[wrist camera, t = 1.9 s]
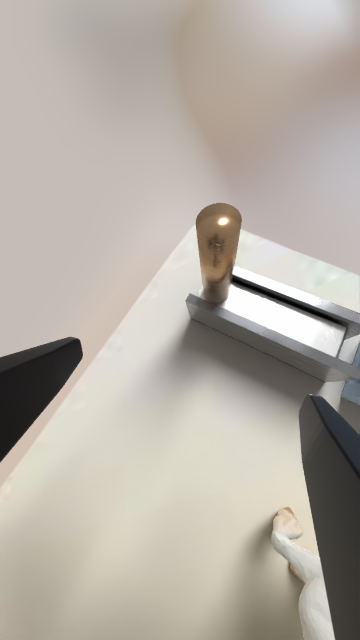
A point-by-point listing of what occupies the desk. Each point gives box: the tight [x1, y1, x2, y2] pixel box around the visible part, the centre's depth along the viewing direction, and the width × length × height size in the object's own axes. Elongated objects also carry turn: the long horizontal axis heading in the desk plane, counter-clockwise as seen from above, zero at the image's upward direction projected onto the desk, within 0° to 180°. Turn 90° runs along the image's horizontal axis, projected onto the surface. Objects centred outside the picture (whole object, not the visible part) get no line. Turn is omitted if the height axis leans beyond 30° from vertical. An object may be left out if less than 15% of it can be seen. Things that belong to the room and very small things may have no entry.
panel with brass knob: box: [196, 203, 346, 357], centre depth 16 cm, size 12×3×12 cm, turn 61°
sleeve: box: [186, 266, 360, 382], centre depth 20 cm, size 14×5×5 cm, turn 61°
